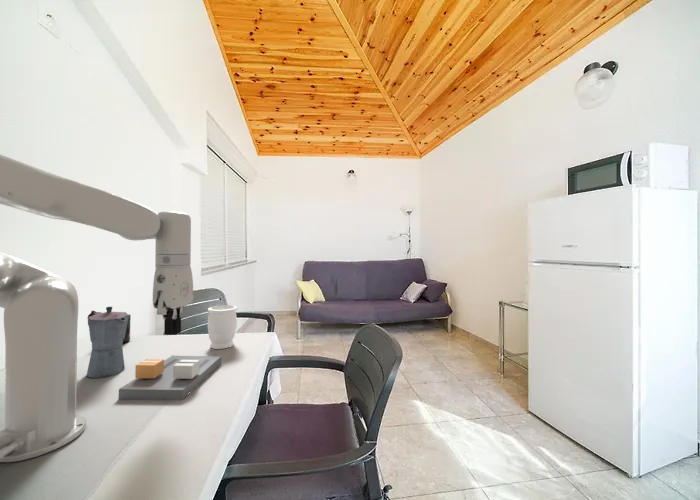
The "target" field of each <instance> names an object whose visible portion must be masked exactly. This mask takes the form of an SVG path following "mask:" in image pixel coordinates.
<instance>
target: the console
mask: <svg viewBox="0 0 700 500" xmlns="http://www.w3.org/2000/svg"><path fill="white" fill-rule="evenodd" d="M181 360H200V370H199V373H198V374H197V375H196V376H194V377H193V378H192V379H176V378H173V365H175V364H176V363H178V362H179V361H181ZM221 364H222V356H218V355H217V356H215V355H171V356H170V357H167V358H166V359H165V360H164V372H163V373H161V374H160V375H158V376H157V377H155V378H134V379H132V380H131V381H129V382H128V383H126V384H125V385H123V386H122V387H120V388H119V389H118V400H163V401H164V400H165V401H168V400H170V399H183V398H184V397H185V396H186V395H187V394H188V393H189V392H191V391H192V390H193V389H194V388H195V387H196V386H197V385H198V386H199V385H200V384H201V383H202V382H203V381H205V379H207V378H208V377H209V376H210V375H211V374H212V373H214V371H216V369H217V368H219V367H220V365H221ZM208 375H209V376H208ZM207 376H208V377H207ZM206 377H207V378H206ZM198 386H197V387H198ZM197 387H196V388H197ZM196 388H195V389H196ZM195 389H194V390H195ZM194 390H193V391H194ZM193 391H192V392H193ZM192 392H191V393H192ZM188 395H189V394H188ZM188 395H187V396H188ZM187 396H186V397H187ZM186 397H185V398H186ZM185 398H184V399H185ZM184 399H183V400H184Z"/></svg>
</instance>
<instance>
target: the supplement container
mask: <svg viewBox="0 0 700 500" xmlns="http://www.w3.org/2000/svg"><path fill="white" fill-rule="evenodd" d="M127 314H128V313H127ZM128 315H129V318H128V323H127V327H126V333H125V338H124V339H123V344H122V345H125V344H127V343H129V342H130V341H131V319H132V318H131V316H132V315H131V314H128Z"/></svg>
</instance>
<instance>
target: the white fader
mask: <svg viewBox="0 0 700 500" xmlns="http://www.w3.org/2000/svg"><path fill="white" fill-rule="evenodd" d="M199 370H200V360H181V361H179V362H178V363H176V364H175V365H173V378H176V379H192V378H193V377H194V376H196V375H197V374H198V373H199Z"/></svg>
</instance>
